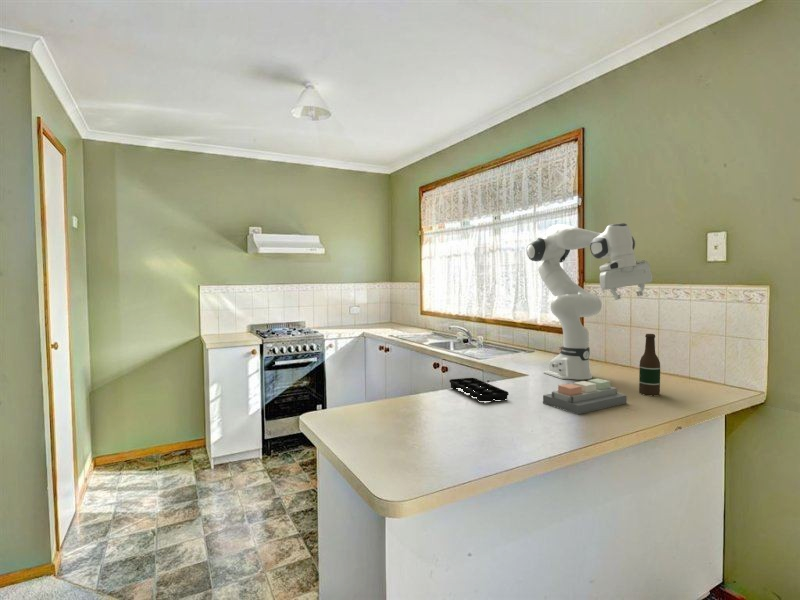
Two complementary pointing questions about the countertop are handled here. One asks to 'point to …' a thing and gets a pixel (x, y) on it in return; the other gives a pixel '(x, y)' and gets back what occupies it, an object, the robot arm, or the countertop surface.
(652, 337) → the beer bottle
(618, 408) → the countertop surface
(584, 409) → the keypad
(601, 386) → the sage key
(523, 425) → the countertop surface
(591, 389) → the cream key
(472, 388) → the egg carton
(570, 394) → the terracotta key
